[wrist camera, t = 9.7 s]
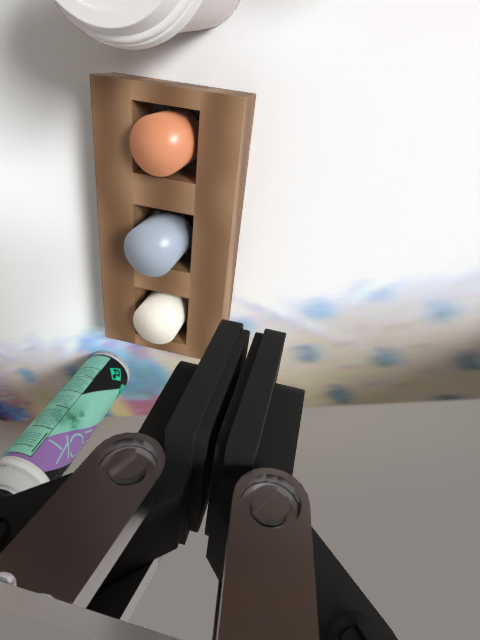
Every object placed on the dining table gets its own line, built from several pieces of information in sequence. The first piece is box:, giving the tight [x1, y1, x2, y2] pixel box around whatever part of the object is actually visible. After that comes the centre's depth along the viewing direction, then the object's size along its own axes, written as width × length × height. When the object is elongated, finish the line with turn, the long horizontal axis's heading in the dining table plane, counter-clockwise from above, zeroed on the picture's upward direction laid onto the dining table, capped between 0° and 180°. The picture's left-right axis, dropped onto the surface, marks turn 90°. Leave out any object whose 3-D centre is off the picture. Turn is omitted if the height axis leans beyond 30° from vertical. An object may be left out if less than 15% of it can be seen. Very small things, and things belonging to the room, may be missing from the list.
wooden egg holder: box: [90, 73, 256, 359], centre depth 40 cm, size 12×24×4 cm, turn 173°
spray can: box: [0, 351, 130, 499], centre depth 45 cm, size 6×6×20 cm
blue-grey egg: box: [124, 209, 193, 277], centre depth 38 cm, size 4×4×5 cm
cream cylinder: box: [133, 291, 189, 344], centre depth 43 cm, size 4×4×5 cm
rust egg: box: [130, 108, 199, 177], centre depth 35 cm, size 4×4×5 cm
